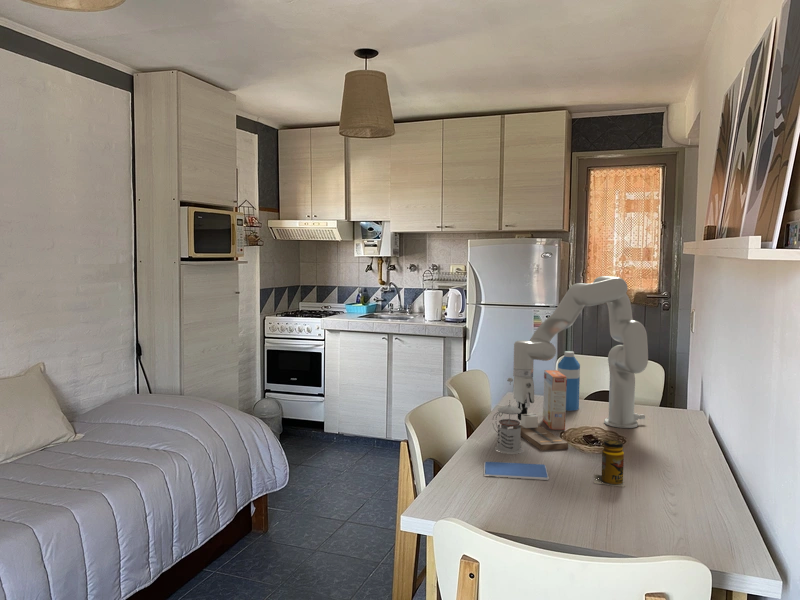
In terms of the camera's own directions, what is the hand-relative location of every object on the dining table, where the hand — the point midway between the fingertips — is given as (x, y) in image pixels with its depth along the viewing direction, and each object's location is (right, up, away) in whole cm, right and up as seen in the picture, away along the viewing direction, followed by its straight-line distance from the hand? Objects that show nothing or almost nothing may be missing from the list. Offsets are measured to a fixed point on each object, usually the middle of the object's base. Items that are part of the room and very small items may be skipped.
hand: (522, 419), depth 230 cm
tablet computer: (-12, -7, -47) cm, 49 cm away
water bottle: (+27, -2, +32) cm, 42 cm away
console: (+3, -4, -14) cm, 15 cm away
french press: (-11, -5, -25) cm, 28 cm away
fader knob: (+1, -1, -6) cm, 6 cm away
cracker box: (+13, -3, +4) cm, 14 cm away
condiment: (+14, -7, -55) cm, 57 cm away
